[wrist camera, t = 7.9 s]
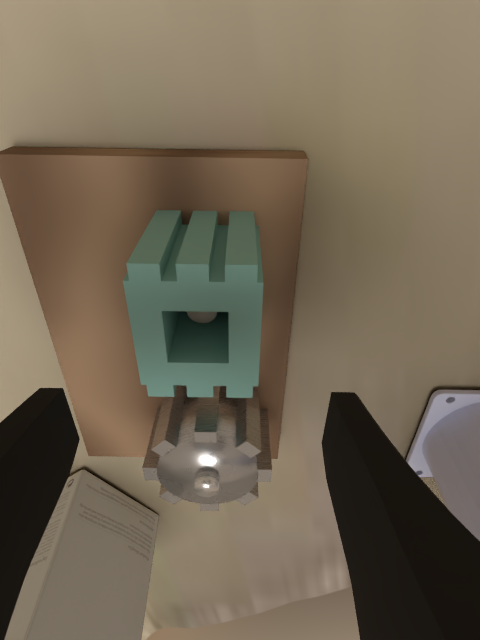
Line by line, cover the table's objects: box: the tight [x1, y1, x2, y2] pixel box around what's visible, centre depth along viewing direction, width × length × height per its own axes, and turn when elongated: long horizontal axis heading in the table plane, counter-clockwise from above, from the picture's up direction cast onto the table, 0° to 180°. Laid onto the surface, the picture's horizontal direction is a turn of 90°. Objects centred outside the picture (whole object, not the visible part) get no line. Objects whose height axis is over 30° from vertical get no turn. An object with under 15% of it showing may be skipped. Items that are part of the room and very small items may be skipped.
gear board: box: [0, 147, 308, 459], centre depth 19 cm, size 12×18×4 cm, turn 179°
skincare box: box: [4, 470, 159, 640], centre depth 25 cm, size 8×6×15 cm
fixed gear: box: [143, 385, 272, 511], centre depth 21 cm, size 6×6×5 cm
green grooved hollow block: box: [123, 210, 263, 398], centre depth 16 cm, size 4×6×5 cm
